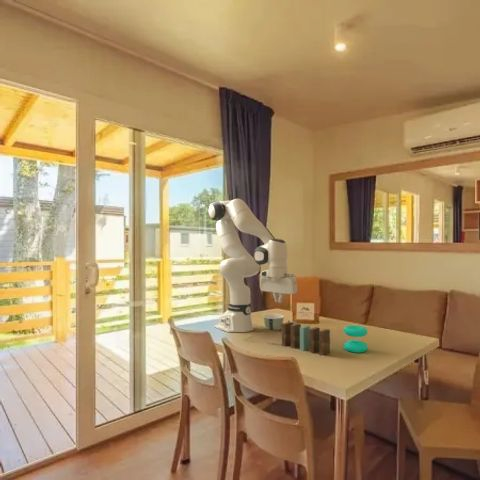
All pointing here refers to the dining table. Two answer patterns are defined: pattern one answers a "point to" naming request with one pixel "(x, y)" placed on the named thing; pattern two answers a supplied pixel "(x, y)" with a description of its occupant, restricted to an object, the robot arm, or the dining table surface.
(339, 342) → the dining table surface
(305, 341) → the domino
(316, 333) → the domino
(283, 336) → the domino
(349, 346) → the donuts
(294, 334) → the domino
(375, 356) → the dining table surface
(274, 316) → the food container
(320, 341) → the domino
